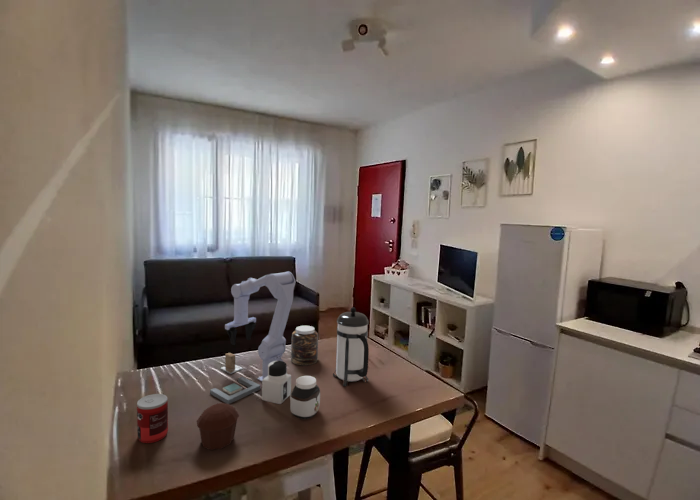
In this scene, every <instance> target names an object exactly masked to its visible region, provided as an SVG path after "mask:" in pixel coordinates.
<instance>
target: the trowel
mask: <svg viewBox="0 0 700 500" xmlns="http://www.w3.org/2000/svg"><path fill="white" fill-rule="evenodd" d="M224 354H225V355H224V357H225V358H224V359H225V363H224V364H225V366H222V367H220V371H223V372H226V373H227V374H229V375H232V374H235V373H237V372H240V371H243V369H244V368H243V367H241V366H240V365H237V364H236V355H235V354H234V353H231V352H228V353H224Z"/></svg>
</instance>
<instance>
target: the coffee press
mask: <svg viewBox="0 0 700 500" xmlns="http://www.w3.org/2000/svg"><path fill="white" fill-rule="evenodd" d="M336 323H337V328H336V356H335V359H336V360H335V371H334V372H333V373H332V376H333V377H334V378H335V377H337V378H338V379H340V380H342V381H343V383H342V386H343V387H346V388H347V387H348V383H349V382H357V381H360V380H362V381H363V383H365V380H366V381H367V382H369V377H368V376H367V375H368V372H369V371H368V370H369V354H370V353H369V341H368V333H369V332H368V331H369V330H368V329H369V328H368V325H369V319H368V317H367V316H366V315H365V314H364V313H362V312H359V311H357V309H356V307H354V306H353V307H351V308H350V311H346V312H342V313H341V314H339V316H338V317H337V318H336ZM364 377H365V378H364Z"/></svg>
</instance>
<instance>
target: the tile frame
mask: <svg viewBox="0 0 700 500" xmlns="http://www.w3.org/2000/svg"><path fill="white" fill-rule="evenodd" d="M237 382H238V383H239V384H241V385H243V386H246V387H247V388H244V389H242V390H240V391H238V392H236V393H233V394H231V395H230V394H228V393H226V392H224V391H223V390H220V389H219V388H216V387H214V388H211V389H209V394H210V395H211V396H213V397H215V398H217V399H218V400H220V401H222V403H226V404H230V405H231V404H233V403H234V402H236V401H239V400H241V399H243V398H245V397H247V396H249V395H251V394H253V393H255V392H258V391H260V390H261V388H262V384H259V383H256V382H254V381H252V380H251V379H248V378H246V377H244V376H240V377H238V378H237Z"/></svg>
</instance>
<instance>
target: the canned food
mask: <svg viewBox="0 0 700 500" xmlns="http://www.w3.org/2000/svg"><path fill="white" fill-rule="evenodd" d="M168 400H169V399H168V396H167V395H166V394H163V393H152V394H148V395H144V396H142V397H141V398H140V399H138V400H137V403H136V423H137V424H136V428H137V438H138V441H139V442H141V443H143V444H152V443H153V444H154V443H156V442H159V441H160V440H163V439H164V438H165V437H166V436H167V434H168V431H169V408H168V407H169V404H168V402H169V401H168Z"/></svg>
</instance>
